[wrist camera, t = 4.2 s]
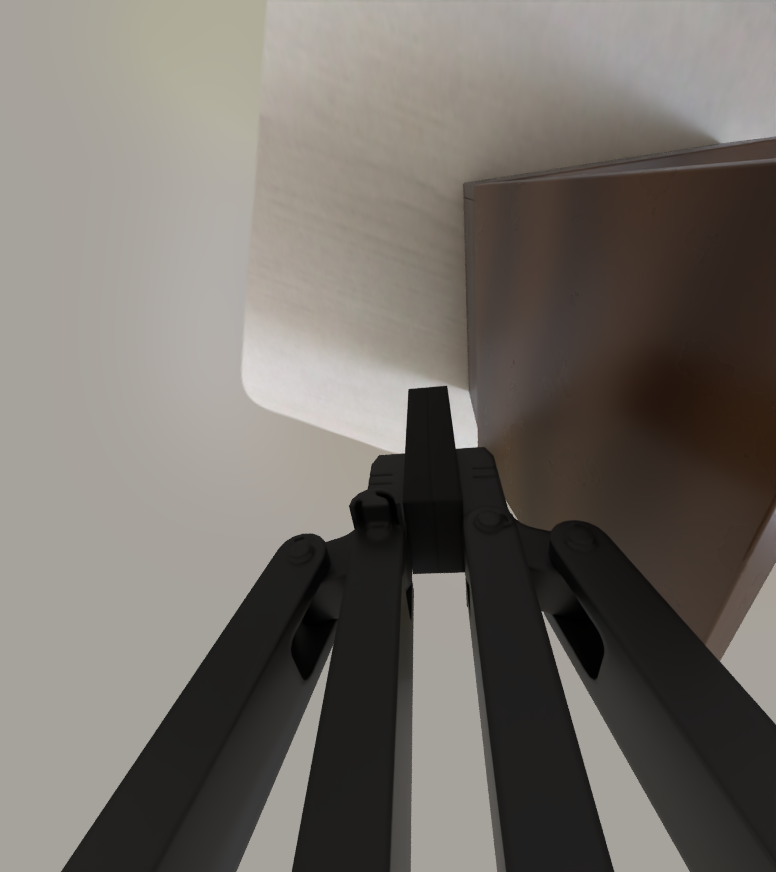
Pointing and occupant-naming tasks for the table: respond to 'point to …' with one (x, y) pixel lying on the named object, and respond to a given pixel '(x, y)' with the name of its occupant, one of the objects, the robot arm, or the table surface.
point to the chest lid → (638, 370)
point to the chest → (685, 157)
